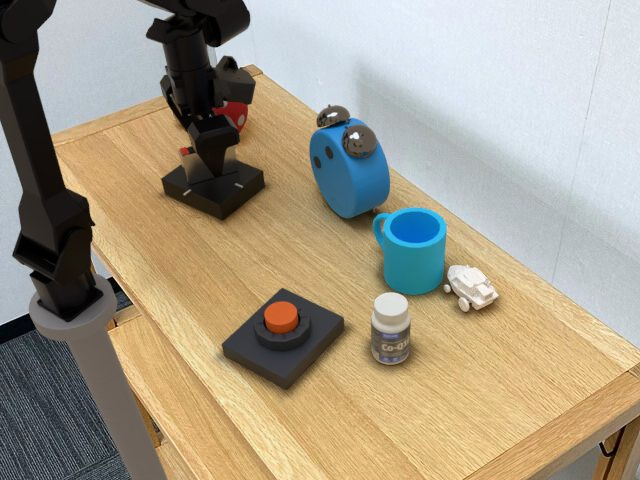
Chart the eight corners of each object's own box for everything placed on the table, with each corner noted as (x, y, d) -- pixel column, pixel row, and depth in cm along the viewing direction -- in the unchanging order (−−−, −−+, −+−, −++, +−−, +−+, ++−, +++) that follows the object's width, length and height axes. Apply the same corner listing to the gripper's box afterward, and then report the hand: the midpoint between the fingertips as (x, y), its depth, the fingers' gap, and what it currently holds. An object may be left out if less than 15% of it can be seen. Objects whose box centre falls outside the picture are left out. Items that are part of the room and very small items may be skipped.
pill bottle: (382, 371, 92) (381, 323, 85) (365, 345, 95) (363, 297, 88) (416, 357, 93) (418, 309, 87) (398, 332, 96) (399, 284, 89)
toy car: (471, 320, 97) (474, 296, 94) (435, 284, 101) (436, 261, 98) (501, 305, 98) (504, 282, 95) (463, 270, 103) (466, 247, 100)
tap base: (270, 183, 118) (268, 166, 116) (218, 225, 112) (214, 208, 109) (212, 159, 123) (209, 142, 121) (159, 198, 116) (154, 181, 114)
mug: (456, 274, 102) (460, 227, 96) (412, 303, 99) (414, 256, 93) (395, 233, 109) (396, 186, 103) (352, 259, 105) (350, 212, 99)
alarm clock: (391, 221, 111) (392, 131, 99) (356, 237, 108) (352, 147, 97) (344, 178, 118) (339, 90, 107) (310, 192, 116) (302, 103, 105)
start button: (284, 339, 91) (283, 329, 90) (259, 326, 93) (257, 316, 91) (304, 319, 93) (303, 309, 92) (279, 306, 95) (278, 296, 93)
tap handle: (234, 163, 117) (229, 134, 113) (238, 170, 115) (233, 140, 111) (184, 178, 115) (177, 148, 111) (188, 185, 113) (181, 155, 109)
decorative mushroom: (149, 73, 125) (210, 63, 116) (201, 83, 134) (262, 74, 124) (151, 142, 127) (211, 137, 118) (202, 148, 135) (262, 144, 126)
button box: (286, 390, 90) (283, 368, 87) (224, 355, 94) (218, 334, 91) (344, 329, 97) (343, 307, 94) (283, 299, 101) (280, 277, 98)
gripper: (268, 77, 98) (281, 178, 109) (223, 20, 109) (239, 117, 121) (185, 99, 95) (208, 200, 106) (148, 38, 106) (171, 135, 118)
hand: (208, 160), depth 113 cm, fingers open, 9 cm apart
